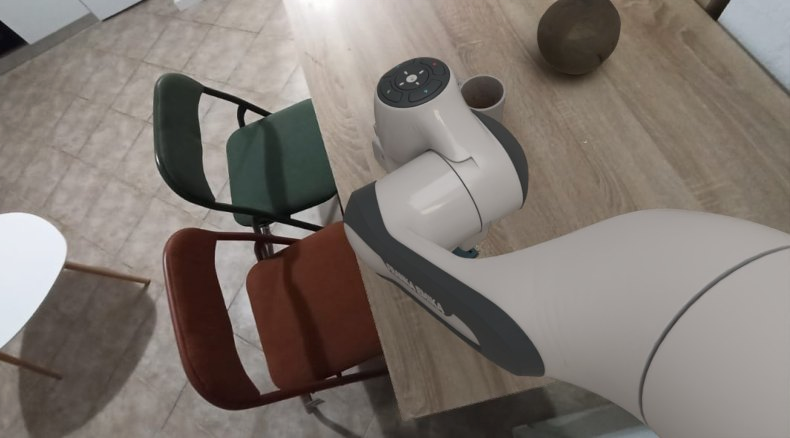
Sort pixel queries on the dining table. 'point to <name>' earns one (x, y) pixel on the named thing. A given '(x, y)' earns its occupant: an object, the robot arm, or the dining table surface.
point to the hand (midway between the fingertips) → (428, 210)
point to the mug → (484, 94)
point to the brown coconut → (578, 34)
